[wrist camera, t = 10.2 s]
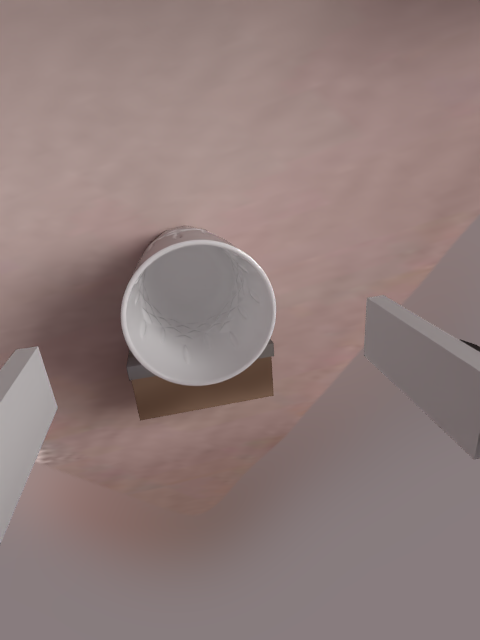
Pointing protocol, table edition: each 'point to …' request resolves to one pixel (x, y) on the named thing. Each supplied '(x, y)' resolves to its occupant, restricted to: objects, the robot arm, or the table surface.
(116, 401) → the table surface
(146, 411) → the block
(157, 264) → the white cup
